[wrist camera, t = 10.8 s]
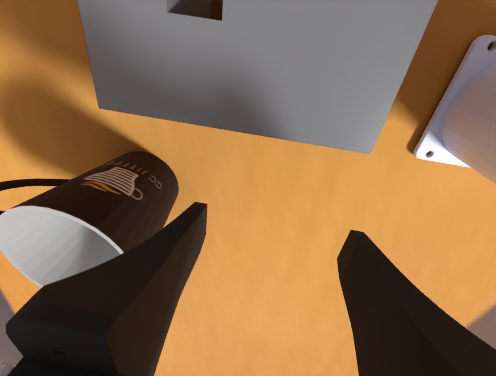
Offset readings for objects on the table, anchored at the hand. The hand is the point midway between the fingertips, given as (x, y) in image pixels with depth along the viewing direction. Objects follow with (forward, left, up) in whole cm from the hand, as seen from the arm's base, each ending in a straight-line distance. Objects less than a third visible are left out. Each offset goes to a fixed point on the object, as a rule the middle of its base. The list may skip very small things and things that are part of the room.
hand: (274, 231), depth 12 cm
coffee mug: (+13, +4, -10) cm, 17 cm away
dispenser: (+3, -8, -9) cm, 13 cm away
